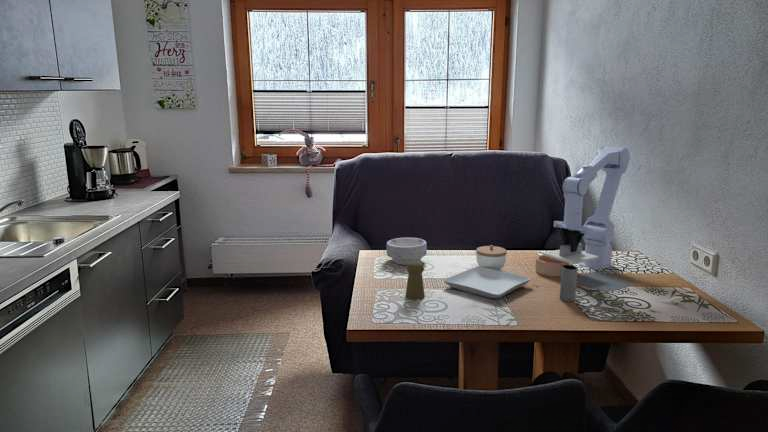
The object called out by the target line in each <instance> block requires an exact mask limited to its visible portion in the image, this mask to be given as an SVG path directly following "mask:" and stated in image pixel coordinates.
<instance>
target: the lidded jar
mask: <svg viewBox="0 0 768 432" xmlns="http://www.w3.org/2000/svg"><path fill="white" fill-rule="evenodd" d="M475 253H476V254H475V255H476V263H477V265H478V266H479V267H484V268H489V269H494V270H499V271H502V269H503V267H504V266H505V264H506V260H507V249H506V248H504V247H501V246H494V245H492V244H490V245H483V246H479V247H477V248H476V249H475Z"/></svg>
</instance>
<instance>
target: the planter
mask: <svg viewBox="0 0 768 432" xmlns="http://www.w3.org/2000/svg"><path fill="white" fill-rule="evenodd" d="M577 276H578V267H577V266H576V265H574V264H569V265H563V266H562V271H561V276H560V288H559V289H560V290H559V299H560V300H561V301H564V302H574V301H576V293H577V292H576V291H577V283H576V282H577Z"/></svg>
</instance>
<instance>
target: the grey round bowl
mask: <svg viewBox="0 0 768 432" xmlns="http://www.w3.org/2000/svg"><path fill="white" fill-rule="evenodd" d="M427 245H428V244H427V241H426V240H424V239H422V238H418V237H397V238H396V237H395V238H392V239H390V240H388V241H387V242H386V256H388V258H391V260H392V261H393V262H394V264H397V265H403V266H407V265H408V264H409V263H410V262H420V263H421V260H422V258H423V257H425V256H426V255H427V252H428V251H427V250H428V249H427V248H428V247H427Z"/></svg>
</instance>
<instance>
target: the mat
mask: <svg viewBox="0 0 768 432" xmlns="http://www.w3.org/2000/svg"><path fill="white" fill-rule="evenodd" d="M576 284H581V285H583V286H586V287H588V288H591V289H594V290H596V291H600V292H603V293H609V292H613V291H617V290H621V289H624V288H628V287H632V286H635V285H636V286H637V283H636V282H632V281H629V280H627V279H626V280H625V279H623V278H620V277H616V276H614V275H611V274H606V273H604V272H602V271H599V270H595V271H592V272H588V273H584V274H580V275H579V274H578V275H577V282H576Z"/></svg>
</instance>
